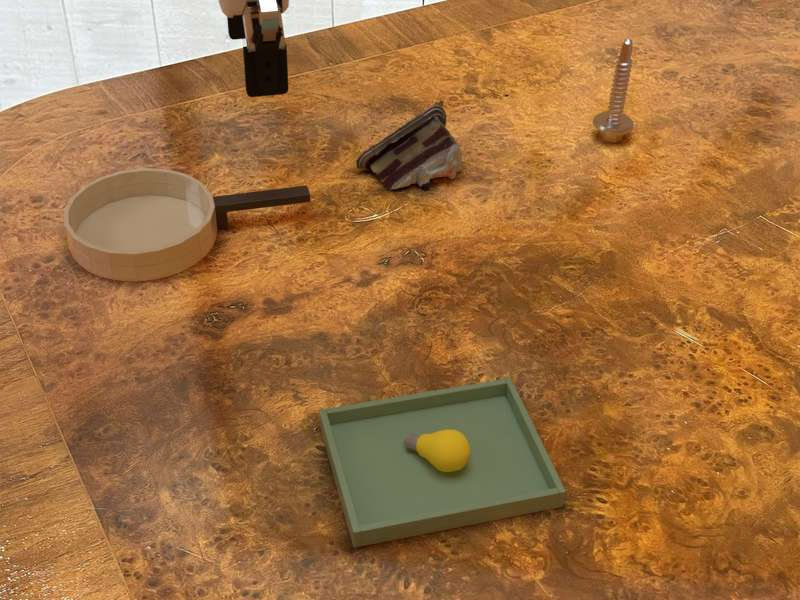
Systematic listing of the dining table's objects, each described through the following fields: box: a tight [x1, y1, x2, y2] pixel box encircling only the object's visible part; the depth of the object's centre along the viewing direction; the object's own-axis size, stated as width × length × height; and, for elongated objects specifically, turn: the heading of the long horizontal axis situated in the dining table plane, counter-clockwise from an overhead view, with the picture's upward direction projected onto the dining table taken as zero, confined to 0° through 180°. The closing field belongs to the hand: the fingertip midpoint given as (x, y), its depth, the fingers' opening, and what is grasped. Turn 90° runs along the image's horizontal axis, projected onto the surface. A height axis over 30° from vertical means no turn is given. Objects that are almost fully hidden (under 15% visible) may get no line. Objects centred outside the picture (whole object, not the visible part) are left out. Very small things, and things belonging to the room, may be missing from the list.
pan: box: [63, 167, 218, 282], centre depth 110 cm, size 15×15×4 cm
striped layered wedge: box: [355, 100, 463, 191], centre depth 121 cm, size 10×7×12 cm
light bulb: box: [404, 430, 470, 472], centre depth 87 cm, size 3×6×4 cm, turn 59°
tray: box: [318, 377, 567, 549], centre depth 88 cm, size 17×13×2 cm
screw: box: [592, 37, 635, 144], centre depth 125 cm, size 13×5×5 cm
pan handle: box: [213, 185, 311, 231], centre depth 113 cm, size 10×2×3 cm, turn 105°
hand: (257, 64), depth 85 cm, fingers open, 9 cm apart
